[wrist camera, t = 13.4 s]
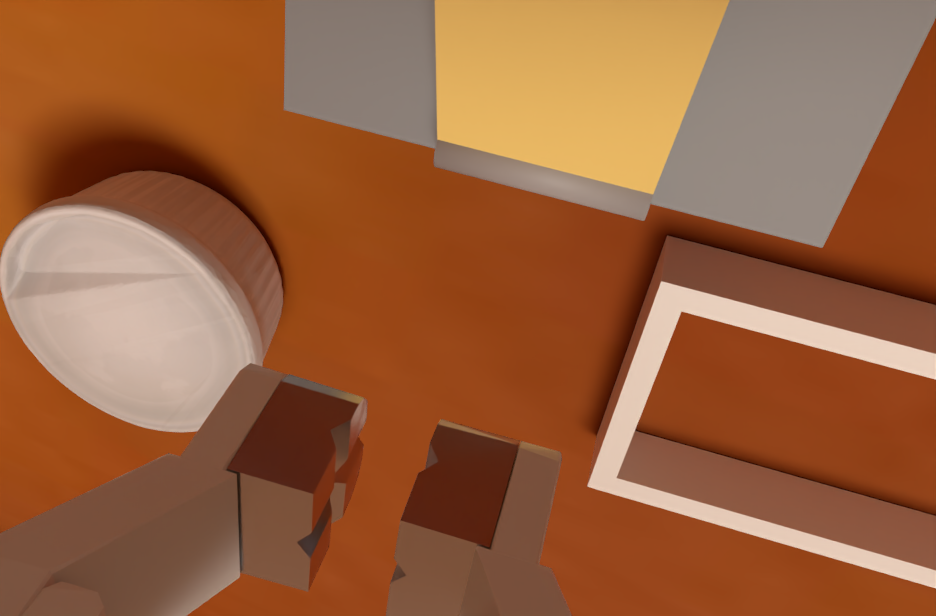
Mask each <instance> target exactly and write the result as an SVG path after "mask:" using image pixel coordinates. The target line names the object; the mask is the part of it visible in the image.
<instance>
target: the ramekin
mask: <svg viewBox="0 0 936 616" xmlns="http://www.w3.org/2000/svg"><path fill="white" fill-rule="evenodd" d="M0 287H1V292H2V297H3V300H4V303H5V306H6V309H7V312H8V314H9V316H10V318H11V321H12V322H13V324H14V326H15V329H16V330H17V332H18V333H19V335H20V337H21V338H22V340H23V341H24V343H25V344H26V345H27V347H28V348H29V349H30V351H31V352H32V353H33V354H34V355H35V357H36V358H37V359H38V360H39V361H40V362H41V364H42V365H43V366H44V367H45V368H46V369H47V370H48V371H49V372H50V373H51V374H52V375H53V376H54V377H56V378H57V379H58V380H59V381H60V382H61V383H62V384H64V385H65V386H66V387H67V388H69V389H70V390H71V391H73V392H74V393H75V394H77V395H78V396H79V397H81V398H82V399H84V400H85V401H87V402H88V403H90V404H92V405H93V406H95V407H97V408H99V409H100V410H102V411H104V412H106V413H108V414H110V415H112V416H114V417H117V418H119V419H121V420H124V421H126V422H129V423H132V424H135V425H138V426H141V427H144V428H148V429H155V430H159V431H168V432H195V431H198V430H199V429H200V427H201V426H202V424H203V423H204V422H205V420H206V419H207V417H208V416H209V414H210V413H211V411H212V410H213V409H214V407H215V406H216V404H217V403H218V401H219V400H220V398H221V397H222V396H223V394H224V393H225V391H226V390H227V388H228V387H229V385H230V384H231V383H232V381H233V380H234V378H235V377H236V375H237V374H238V372H239V371H240V370H241V369H243V368H244V367H246V366H247V365H248V364H250V363H252V364H255V365H259V366H263V359H264V357H265V354H266V352H267V350H268V347H269V345H270V342H271V340H272V338H273V335H274V333H275V330H276V328H277V325H278V321H279V319H280V316H281V310H282V306H283V288H282V280H281V276H280V273H279V270H278V265H277V263H276V261H275V259H274V256H273V254H272V252H271V250H270V248H269V246H268V244H267V242H266V240H265V239H264V237H263V236H262V234H261V233H260V231H259V230H258V229H257V227H256V226H255V225H254V224H253V222H252V221H251V220H250V219H249V218H248V217H247V216H246V215H245V214H244V213H243V212H242V211H241V210H240V209H239V208H238V207H236V206H235V205H234V204H233V203H232V202H230V201H229V200H228V199H226V198H225V197H223V196H222V195H220V194H219V193H217V192H216V191H214V190H212V189H211V188H209V187H207V186H205V185H203V184H201V183H198V182H196V181H193V180H190V179H187V178H185V177H183V176H179V175H174V174H171V173H167V172H157V171H134V172H128V173H122V174H119V175H117V176H113V177H110V178H107V179H105V180H103V181H101V182H99V183H97V184H95V185H93V186H91V187H88V188H86V189H84V190H82V191H80V192H78V193H76V194H74V195H72V196H69V197H63V198H59V199H56V200H53V201H50V202H48V203H46V204H44V205H41V206H40V207H38V208H37V209H35V210H33V211H32V212H31V213H30V214H28V215H27V216H26V217H24V218H23V219H22V220H21V221H20V222H19V223H18V224H17V225H16V226H15V227H14V228H13V230H12V231H11V233H10V235H9V236H8V238H7V240H6V242H5V244H4V246H3V249H2V253H1V258H0Z"/></svg>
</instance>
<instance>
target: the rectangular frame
mask: <svg viewBox="0 0 936 616" xmlns="http://www.w3.org/2000/svg"><path fill="white" fill-rule="evenodd" d="M681 311H682V312H686V313H690V314H693V315H697V316H701V317H705V318H708V319H712V320H716V321H720V322H723V323H727V324H731V325H734V326H738V327H742V328H746V329H749V330H753V331H757V332H761V333H764V334H768V335H772V336H775V337H779V338H783V339H787V340H790V341H794V342H798V343H802V344H805V345H809V346H813V347H817V348H820V349H824V350H828V351H831V352H835V353H839V354H843V355H846V356H850V357H854V358H858V359H861V360H865V361H869V362H872V363H876V364H880V365H884V366H887V367H891V368H895V369H899V370H902V371H906V372H910V373H914V374H917V375H921V376H925V377H928V378H932V379H936V305H934V304H930V303H926V302H922V301H918V300H915V299H911V298H907V297H903V296H899V295H895V294H891V293H888V292H884V291H880V290H876V289H872V288H868V287H864V286H861V285H857V284H853V283H849V282H845V281H841V280H837V279H834V278H830V277H826V276H822V275H818V274H814V273H811V272H807V271H803V270H799V269H795V268H791V267H787V266H784V265H780V264H776V263H772V262H768V261H764V260H760V259H757V258H753V257H749V256H745V255H741V254H737V253H733V252H730V251H726V250H722V249H718V248H714V247H710V246H707V245H703V244H699V243H695V242H691V241H687V240H683V239H680V238H676V237H672V236H668V235H667V237H666V240H665V243H664V246H663V248H662V251H661V254H660V257H659V260H658V263H657V265H656V268H655V271H654V274H653V277H652V280H651V283H650V285H649V288H648V291H647V294H646V297H645V300H644V302H643V305H642V308H641V311H640V314H639V317H638V320H637V322H636V325H635V328H634V331H633V334H632V337H631V340H630V342H629V345H628V348H627V351H626V354H625V357H624V359H623V362H622V365H621V368H620V371H619V374H618V377H617V379H616V382H615V385H614V388H613V391H612V394H611V396H610V399H609V402H608V405H607V408H606V411H605V414H604V416H603V419H602V422H601V425H600V428H599V431H598V434H597V436H596V442H595V447H594V452H593V458H592V463H591V469H590V474H589V480H588V485H587V487H590V488H594V489H597V490H601V491H604V492H607V493H611V494H614V495H618V496H621V497H625V498H628V499H631V500H635V501H638V502H642V503H645V504H649V505H652V506H655V507H659V508H662V509H666V510H669V511H673V512H676V513H679V514H683V515H686V516H690V517H693V518H697V519H700V520H703V521H707V522H710V523H714V524H717V525H721V526H724V527H727V528H731V529H734V530H738V531H741V532H745V533H748V534H751V535H755V536H758V537H762V538H765V539H769V540H772V541H775V542H779V543H782V544H786V545H789V546H793V547H796V548H799V549H803V550H806V551H810V552H813V553H817V554H820V555H824V556H827V557H830V558H834V559H837V560H841V561H844V562H848V563H851V564H854V565H858V566H861V567H865V568H868V569H872V570H875V571H878V572H882V573H885V574H889V575H892V576H896V577H899V578H902V579H906V580H909V581H913V582H916V583H920V584H923V585H926V586H930V587H933V588H936V516H934V515H931V514H927V513H924V512H920V511H917V510H913V509H910V508H906V507H902V506H899V505H895V504H892V503H888V502H885V501H881V500H878V499H874V498H871V497H867V496H864V495H860V494H857V493H853V492H850V491H846V490H843V489H839V488H835V487H832V486H828V485H825V484H821V483H818V482H814V481H811V480H807V479H804V478H800V477H797V476H793V475H790V474H786V473H783V472H779V471H775V470H772V469H768V468H765V467H761V466H758V465H754V464H751V463H747V462H744V461H740V460H737V459H733V458H730V457H726V456H723V455H719V454H716V453H712V452H708V451H705V450H701V449H698V448H694V447H691V446H687V445H684V444H680V443H677V442H673V441H670V440H666V439H663V438H659V437H656V436H652V435H648V434H645V433H641V432H638V431H635V429H636V426H637V424H638V421H639V419H640V416H641V414H642V411H643V409H644V406H645V403H646V401H647V398H648V396H649V393H650V391H651V388H652V385H653V383H654V380H655V378H656V375H657V373H658V370H659V367H660V365H661V362H662V360H663V357H664V355H665V352H666V349H667V347H668V344H669V342H670V339H671V337H672V334H673V331H674V329H675V326H676V324H677V321H678V319H679V316H680V314H681Z"/></svg>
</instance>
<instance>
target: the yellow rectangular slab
mask: <svg viewBox="0 0 936 616" xmlns="http://www.w3.org/2000/svg"><path fill="white" fill-rule="evenodd" d="M729 1H730V0H435V42H436V96H437V143H436V148H435V154H434V166H435V167H437V168H441V169H445V170H449V171H453V172H457V173H461V174H464V175H468V176H472V177H476V178H480V179H484V180H488V181H492V182H495V183H499V184H503V185H507V186H511V187H515V188H519V189H522V190H526V191H530V192H534V193H538V194H542V195H546V196H550V197H553V198H557V199H561V200H565V201H569V202H573V203H577V204H580V205H584V206H588V207H592V208H596V209H600V210H604V211H608V212H611V213H615V214H619V215H623V216H627V217H631V218H635V219H638V220H642V221H644V220H645V218H646V215H647V213H648V210H649V207H650V203H651V200H652V197H653V194H654V191H655V188H656V186H657V183H658V181H659V178H660V176H661V173H662V171H663V168H664V166H665V163H666V161H667V158H668V155H669V153H670V150H671V148H672V145H673V143H674V140H675V138H676V135H677V133H678V130H679V128H680V125H681V123H682V120H683V117H684V115H685V112H686V110H687V107H688V105H689V102H690V100H691V97H692V95H693V92H694V90H695V87H696V84H697V82H698V79H699V77H700V74H701V72H702V69H703V67H704V64H705V62H706V59H707V57H708V54H709V51H710V49H711V46H712V44H713V41H714V39H715V36H716V34H717V31H718V29H719V26H720V24H721V21H722V19H723V16H724V13H725V11H726V8H727V6H728V3H729Z"/></svg>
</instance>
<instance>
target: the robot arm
mask: <svg viewBox="0 0 936 616" xmlns="http://www.w3.org/2000/svg"><path fill="white" fill-rule="evenodd" d="M366 415H367V400H366V399H365V398H363V397H360V396H357V395H354V394H350V393H347V392H344V391H341V390H338V389H334V388H331V387H328V386H325V385H322V384H318V383H315V382H312V381H309V380H306V379H303V378H299V377H296V376H293V375H290V374H289V375H288V374H284V373H281V372H278V371H275V370H271V369H268V368H265V367H262V366H259V365H255V364H252V363H250V364H248V365H247V366H246V367H244V368H243V369H241V370H240V371H239V372H238V374H237V375H236V377H235V378H234V380H233V381H232V383H231V384H230V385H229V387H228V388H227V390H226V391H225V393H224V394H223V396H222V397H221V398H220V400H219V401H218V403H217V404H216V406H215V407H214V409H213V410H212V411H211V413H210V414H209V416H208V417H207V419H206V420H205V422H204V423H203V424H202V426H201V427H200V429H199V430H198V432H197V433H196V435H195V436H194V437H193V439H192V440H191V442H190V443H189V445H188V446H187V447H186V449H185V450H184V452H183V453H182V455H181V456H176V455H172V454H169V453H168V454H166V455H164V456H162V457H160V458H158V459H156V460H154V461H152V462H150V463H147V464H145V465H143V466H141V467H139V468H137V469H135V470H133V471H131V472H128V473H126V474H124V475H122V476H120V477H118V478H116V479H114V480H112V481H110V482H107V483H105V484H103V485H101V486H99V487H97V488H95V489H93V490H91V491H88V492H86V493H84V494H82V495H80V496H78V497H76V498H74V499H72V500H69V501H67V502H65V503H63V504H61V505H59V506H57V507H55V508H53V509H51V510H48V511H46V512H44V513H42V514H40V515H38V516H36V517H34V518H32V519H29V520H27V521H25V522H23V523H21V524H19V525H17V526H15V527H13V528H11V529H8V530H6V531H4V532H2V533H0V616H186V615H188V614H189V613H191V612H192V611H193V610H195V609H196V608H198V607H199V606H200V605H202V604H203V603H204V602H206V601H207V600H209V599H210V598H211V597H213V596H214V595H216V594H217V593H218V592H220V591H221V590H223V589H224V588H225V587H227V586H228V585H230V584H231V583H232V582H234V581H235V580H237V579H238V578H239V577H240V573H244V574H248V575H251V576H255V577H258V578H262V579H265V580H269V581H272V582H276V583H279V584H283V585H287V586H290V587H294V588H297V589H301V590H304V591H309V589H310V587H311V585H312V583H313V580H314V578H315V576H316V574H317V572H318V570H319V567H320V565H321V563H322V561H323V559H324V557H325V555H326V552H327V550H328V548H329V543H330V532H331V523H333V522H335V521H337V520H338V519H340V518H342V517H343V515H344V513H345V510H346V508H347V506H348V504H349V501H350V499H351V496H352V493H353V490H354V487H355V484H356V481H357V478H358V475H359V470H360V466H361V461H362V455H363V446H364V445H363V443H362V442H361V440H360V439H359V437H358V436H359V434H360V432H361V430H362V428H363V426H364V424H365V421H366ZM519 442H520V440H516V439H513V438H509V437H505V436H502V435H498V434H494V433H491V432H487V431H483V430H480V429H476V428H472V427H469V426H465V425H462V424H458V423H454V422H451V421H447V420H443V419H441V420H440V422H439V423H438V425H437V427H436V430H435V432H434V434H433V437H432V439H431V442H430V446H429V452H428V457H427V462H426V468H425V470H423V471H421V472H419V473H418V475H417V478H416V481H415V483H414V486H413V489H412V491H411V494H410V497H409V499H408V502H407V504H406V507H405V510H404V512H403V515H402V518H401V520H400V526H399V532H398V538H397V544H396V550H395V556H394V559H395V560H396V562H397V566H396V569H395V572H394V574H393V577H392V580H391V583H390V589H389V597H388V604H387V612H386V616H572V615H571V612H570V610H569V608H568V606H567V603H566V601H565V599H564V596H563V594H562V592H561V589H560V587H559V585H558V583H557V580H556V578H555V576H554V573H553V571H552V569H551V568H549V567H546V566H543V565H540V564H539V562H540V558H541V553H542V549H543V544H544V539H545V535H546V530H547V526H548V521H549V516H550V512H551V507H552V503H553V498H554V493H555V489H556V484H557V480H558V475H559V470H560V466H561V461H562V457H561V452H559V451H555V450H551V449H548V448H544V447H541V446H537V445H533V444H530V443H526V442H523V441H521V443H520V445H519ZM518 446H519V448H518ZM517 450H518V451H517ZM516 454H517V455H516ZM515 458H516V459H515ZM514 461H515V462H514ZM513 465H514V466H513ZM512 469H513V470H512ZM509 480H510V481H509ZM506 491H507V492H506Z"/></svg>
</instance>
